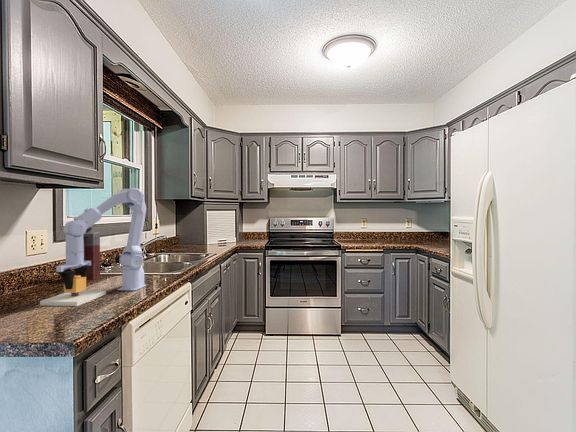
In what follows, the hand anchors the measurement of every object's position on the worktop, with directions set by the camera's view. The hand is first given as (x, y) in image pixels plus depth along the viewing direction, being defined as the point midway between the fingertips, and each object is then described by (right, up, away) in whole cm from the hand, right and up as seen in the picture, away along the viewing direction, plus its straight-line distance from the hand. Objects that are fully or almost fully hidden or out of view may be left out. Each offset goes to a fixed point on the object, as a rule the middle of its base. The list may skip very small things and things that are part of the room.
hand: (74, 287), depth 119 cm
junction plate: (0, -5, 0) cm, 5 cm away
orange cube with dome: (0, -1, 0) cm, 1 cm away
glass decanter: (-20, -5, +37) cm, 42 cm away
